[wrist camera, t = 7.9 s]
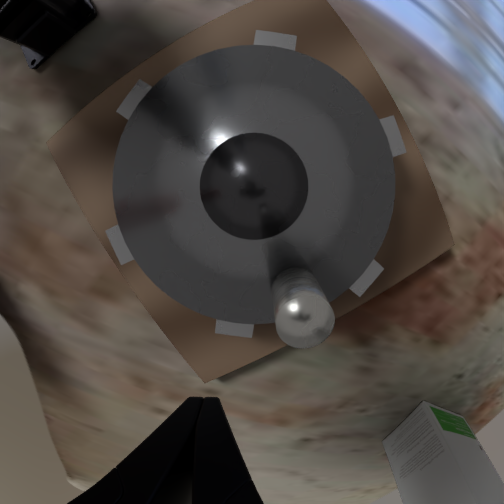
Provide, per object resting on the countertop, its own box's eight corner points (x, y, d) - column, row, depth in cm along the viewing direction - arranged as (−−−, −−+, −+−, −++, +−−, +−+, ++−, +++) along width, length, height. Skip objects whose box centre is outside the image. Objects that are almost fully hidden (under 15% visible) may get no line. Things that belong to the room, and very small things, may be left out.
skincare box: (462, 414, 25) (525, 513, 10) (422, 454, 26) (468, 555, 11) (421, 398, 24) (493, 525, 9) (375, 443, 25) (419, 570, 10)
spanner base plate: (57, 143, 18) (44, 142, 16) (305, -10, 15) (309, -22, 14) (207, 371, 23) (204, 384, 21) (443, 239, 20) (456, 245, 18)
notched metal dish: (183, 338, 20) (159, 403, 14) (88, 128, 16) (22, 119, 10) (412, 250, 18) (470, 287, 12) (331, 27, 15) (364, -26, 8)
